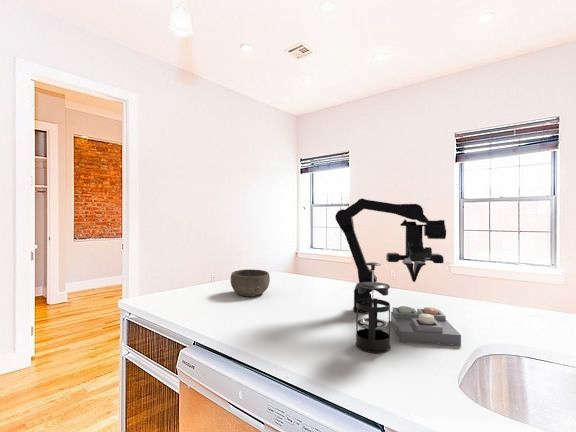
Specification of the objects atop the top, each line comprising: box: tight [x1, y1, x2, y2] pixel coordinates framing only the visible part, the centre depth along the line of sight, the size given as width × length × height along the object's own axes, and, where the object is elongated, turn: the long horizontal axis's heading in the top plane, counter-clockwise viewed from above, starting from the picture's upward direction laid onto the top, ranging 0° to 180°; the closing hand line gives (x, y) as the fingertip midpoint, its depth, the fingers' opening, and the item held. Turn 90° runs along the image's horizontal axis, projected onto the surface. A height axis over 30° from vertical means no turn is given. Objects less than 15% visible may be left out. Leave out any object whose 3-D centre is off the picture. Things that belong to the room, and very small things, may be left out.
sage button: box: [397, 305, 412, 313], centre depth 107 cm, size 4×4×2 cm
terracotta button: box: [423, 306, 439, 315], centre depth 106 cm, size 4×4×2 cm
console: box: [390, 307, 462, 347], centre depth 101 cm, size 16×19×4 cm
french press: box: [355, 262, 392, 354], centre depth 90 cm, size 12×9×23 cm
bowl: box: [230, 268, 271, 297], centre depth 148 cm, size 17×18×10 cm
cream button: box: [419, 314, 434, 324], centre depth 96 cm, size 4×4×2 cm
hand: (413, 281), depth 118 cm, fingers closed
